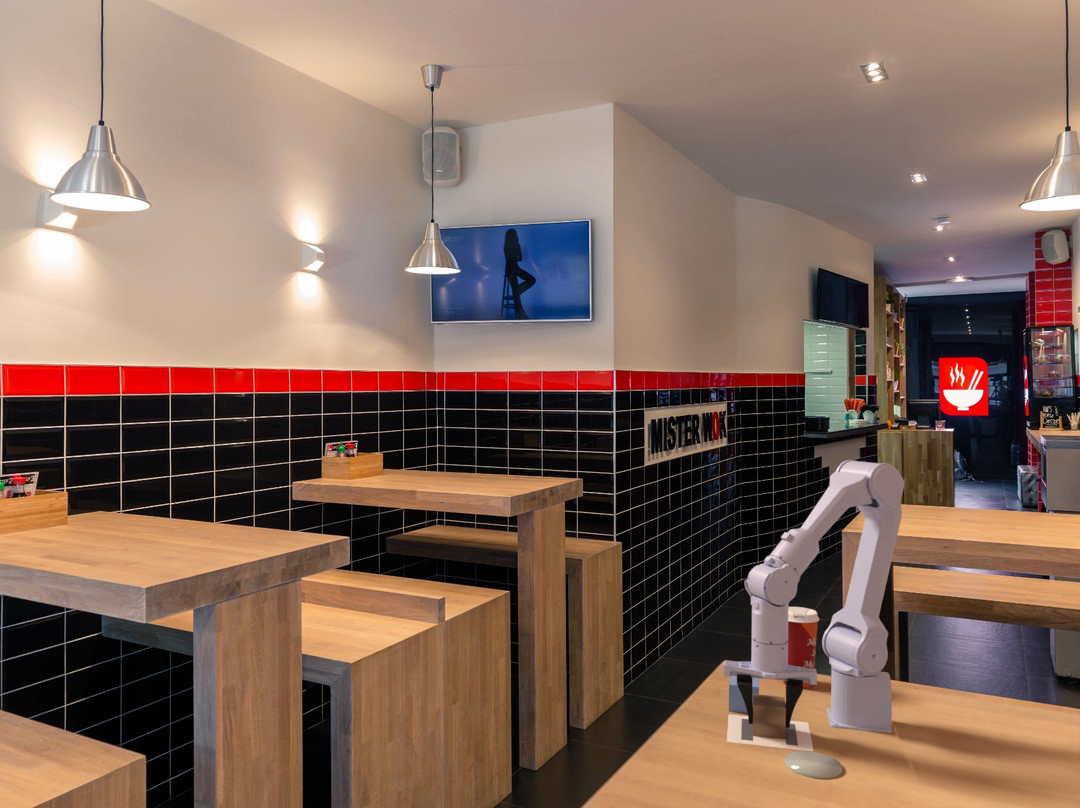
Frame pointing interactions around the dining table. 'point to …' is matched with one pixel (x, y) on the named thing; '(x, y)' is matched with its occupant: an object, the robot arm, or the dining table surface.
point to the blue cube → (736, 697)
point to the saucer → (813, 764)
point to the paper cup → (802, 638)
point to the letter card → (743, 733)
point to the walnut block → (769, 716)
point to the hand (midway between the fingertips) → (768, 723)
